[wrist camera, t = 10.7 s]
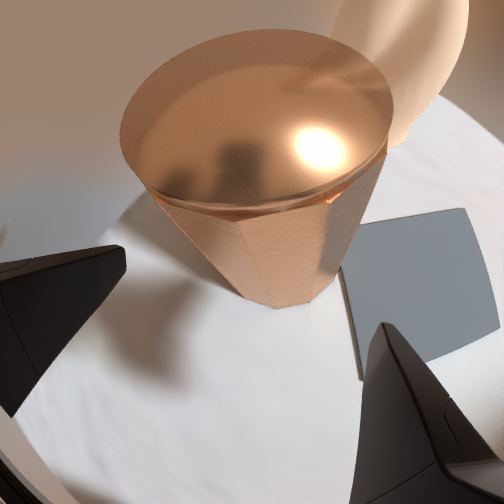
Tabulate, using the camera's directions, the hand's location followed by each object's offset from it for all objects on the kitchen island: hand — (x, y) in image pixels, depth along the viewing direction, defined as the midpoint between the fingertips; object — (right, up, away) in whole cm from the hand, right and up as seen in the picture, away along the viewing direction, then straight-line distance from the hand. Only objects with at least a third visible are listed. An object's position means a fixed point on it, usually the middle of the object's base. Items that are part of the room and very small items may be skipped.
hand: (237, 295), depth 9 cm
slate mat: (+12, -1, +8) cm, 14 cm away
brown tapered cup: (+2, +2, +10) cm, 10 cm away
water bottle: (+12, +13, +13) cm, 22 cm away
